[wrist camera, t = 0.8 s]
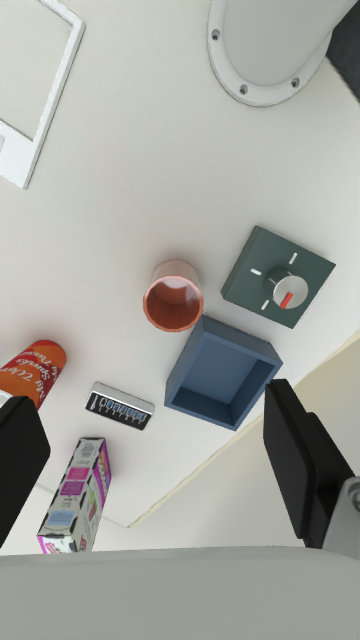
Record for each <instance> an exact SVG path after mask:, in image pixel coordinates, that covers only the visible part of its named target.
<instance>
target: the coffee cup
mask: <svg viewBox="0 0 360 640" xmlns="http://www.w3.org/2000/svg"><path fill="white" fill-rule="evenodd" d="M65 363H66V354H65V352H64V350H63V349H62V348H61V347H60V346H59V345H58V344H56V343H55V342H52V341H49V340H40V341H37V342H35V343H34V344H32V345H31V346H29V347H28V348H27V349H25V350H24V351H23V352H21V353H20V354H19V355H18V356H16V357H15V358H14V359H12V360H11V361H10V362H9V363H7V364H6V365H5V366H3V367H2V368H1V369H0V408H1V407H2V406H3V405H4V403H5V402H6V401H7V400H8V399H9V398H10V397H13V396H28V397H29V398H30V399H32V400H33V401H34V403H35V406H36V409H37V412H38V410H39V408H40V407H41V405H42V403H43V401H44V400H45V398H46V396H47V394H48V393H49V391H50V389H51V388H52V386H53V385H54V383H55V381H56V380H57V378H58V376H59V374H60V373H61V371H62V369H63V367H64V365H65Z"/></svg>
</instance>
